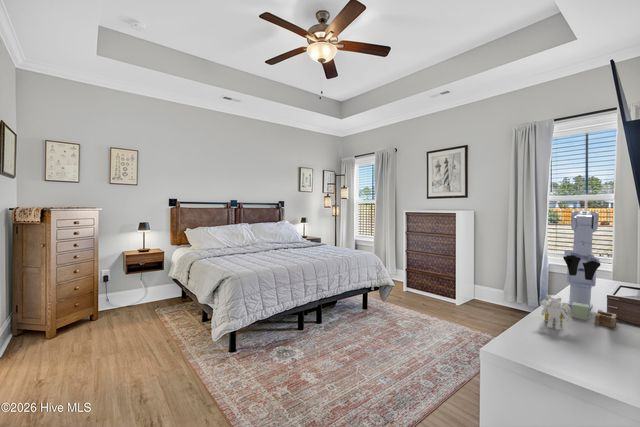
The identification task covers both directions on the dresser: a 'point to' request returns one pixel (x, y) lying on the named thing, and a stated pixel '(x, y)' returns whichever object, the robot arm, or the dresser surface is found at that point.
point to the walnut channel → (604, 318)
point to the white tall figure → (548, 314)
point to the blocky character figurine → (554, 311)
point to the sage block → (580, 311)
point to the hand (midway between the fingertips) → (580, 277)
